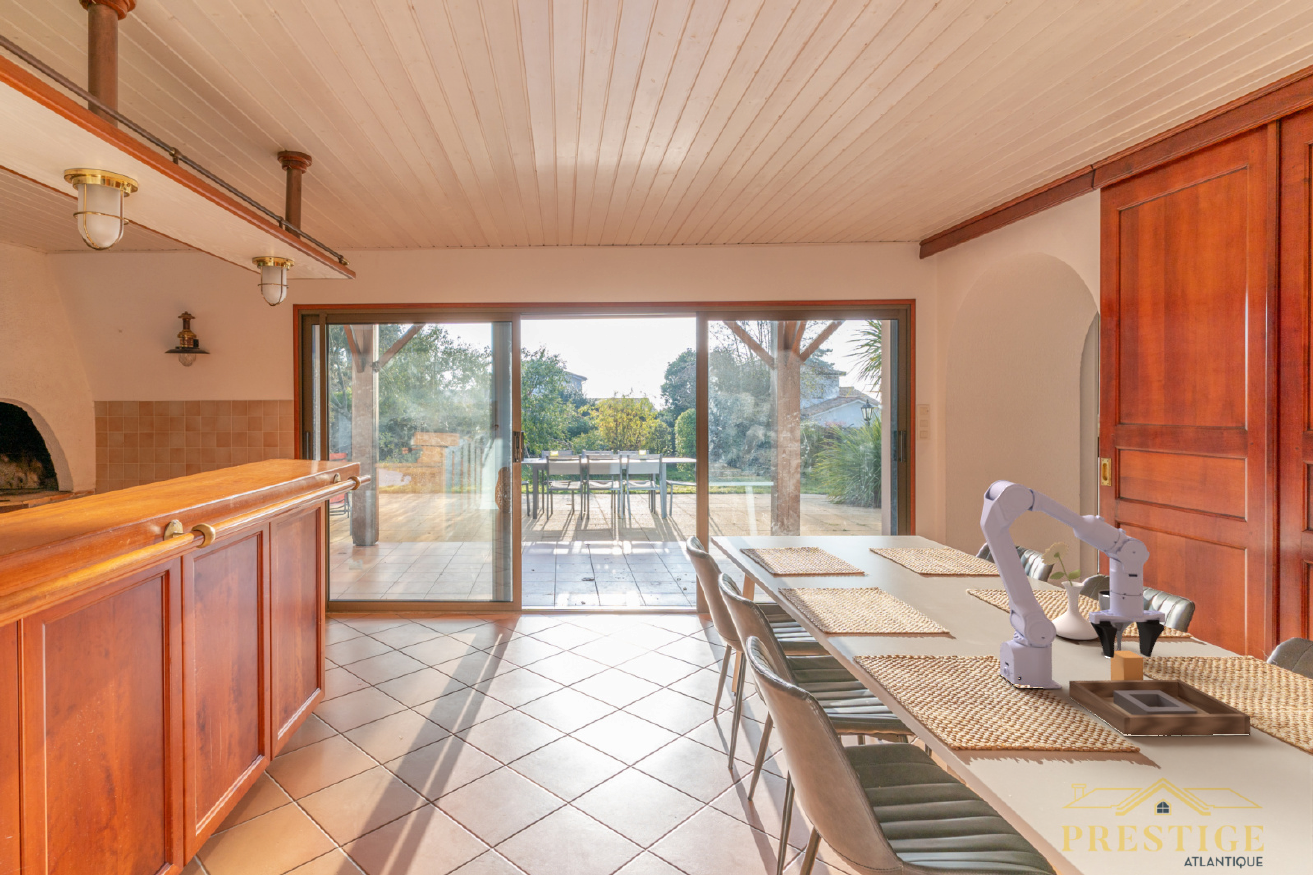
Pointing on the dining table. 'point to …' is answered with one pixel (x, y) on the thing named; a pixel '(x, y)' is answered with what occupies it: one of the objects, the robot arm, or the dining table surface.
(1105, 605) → the wine glass
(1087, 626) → the flower in vase
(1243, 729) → the walled box
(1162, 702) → the frame
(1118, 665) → the block
